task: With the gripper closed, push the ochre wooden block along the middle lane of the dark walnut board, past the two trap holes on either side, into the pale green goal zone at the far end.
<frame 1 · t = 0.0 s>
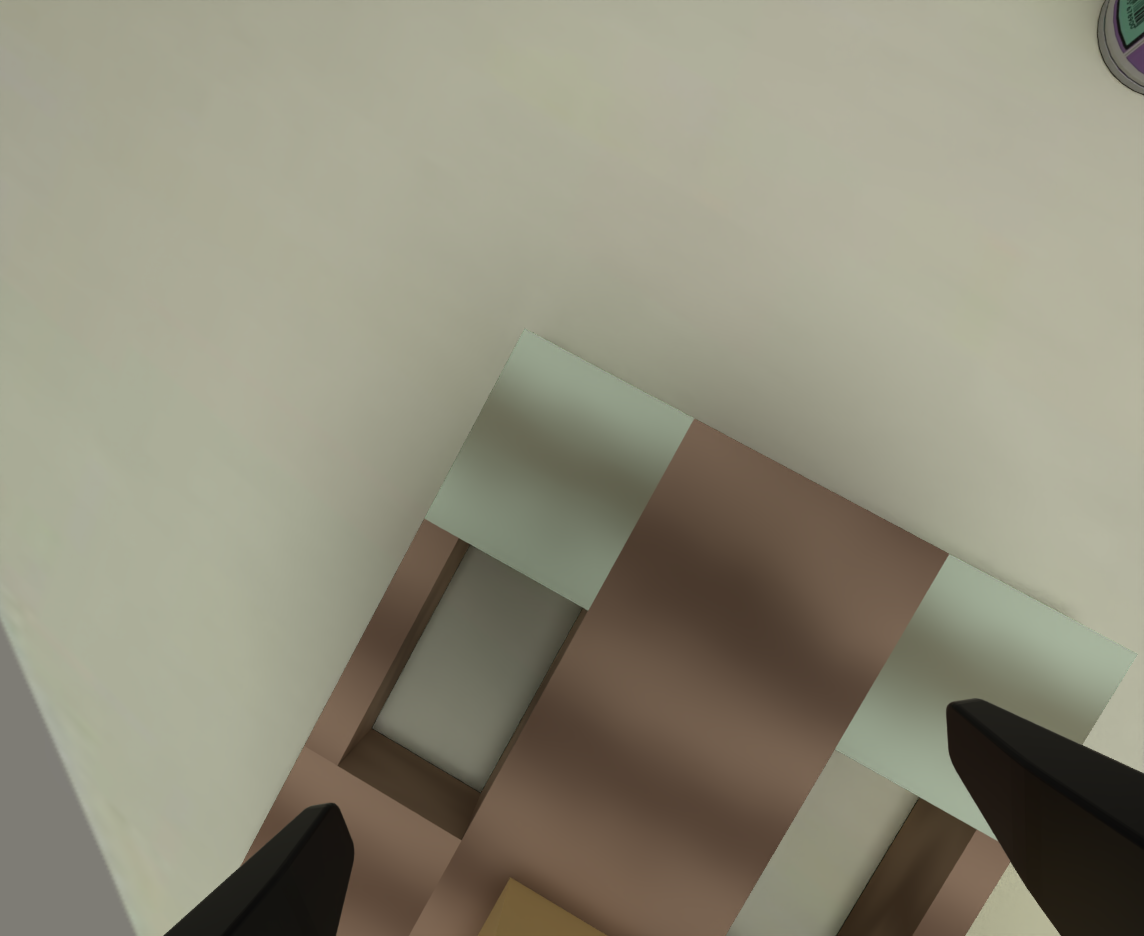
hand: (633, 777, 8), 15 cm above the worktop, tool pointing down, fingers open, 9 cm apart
trap board: (639, 753, 24), on the worktop
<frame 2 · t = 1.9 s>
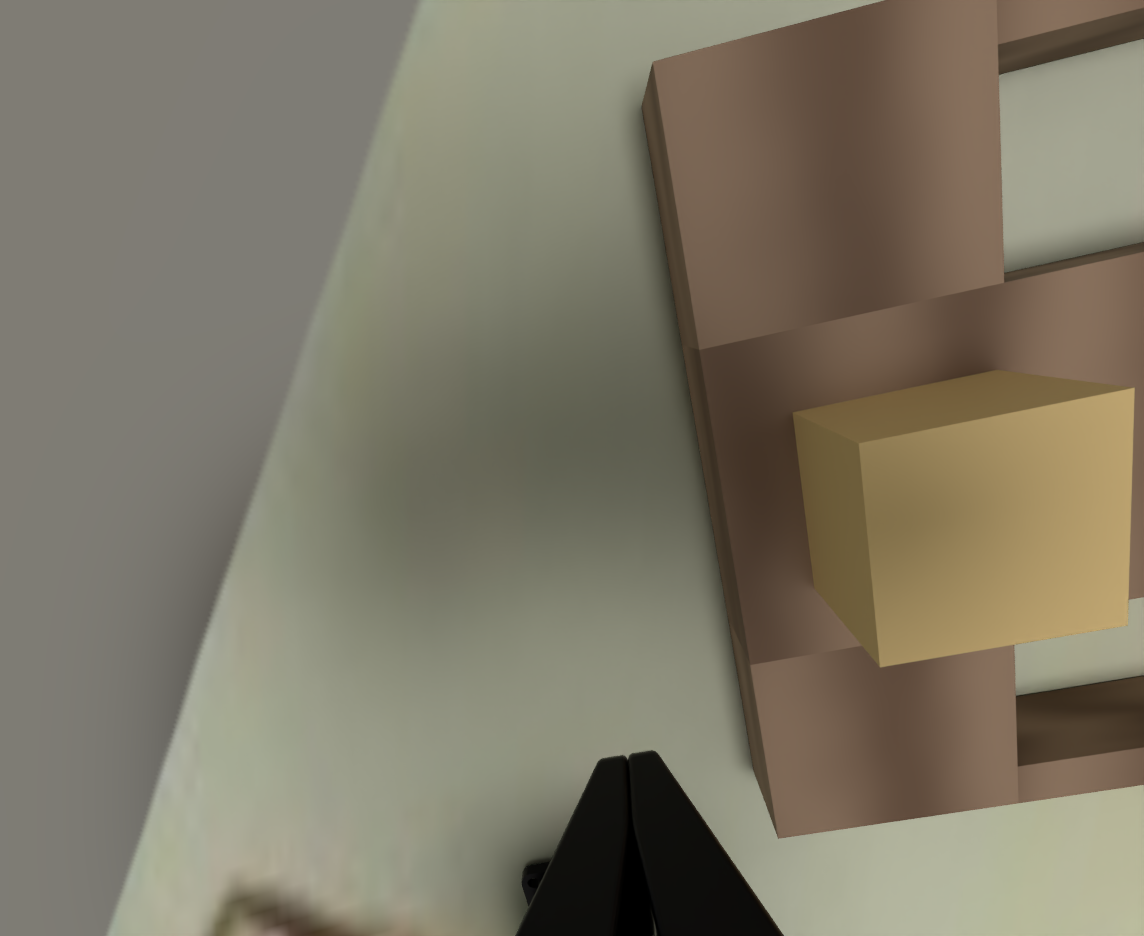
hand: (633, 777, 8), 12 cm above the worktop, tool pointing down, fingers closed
trap board: (1102, 409, 18), on the worktop
ochre block: (900, 485, 16), point 3 cm above the worktop, touching trap board
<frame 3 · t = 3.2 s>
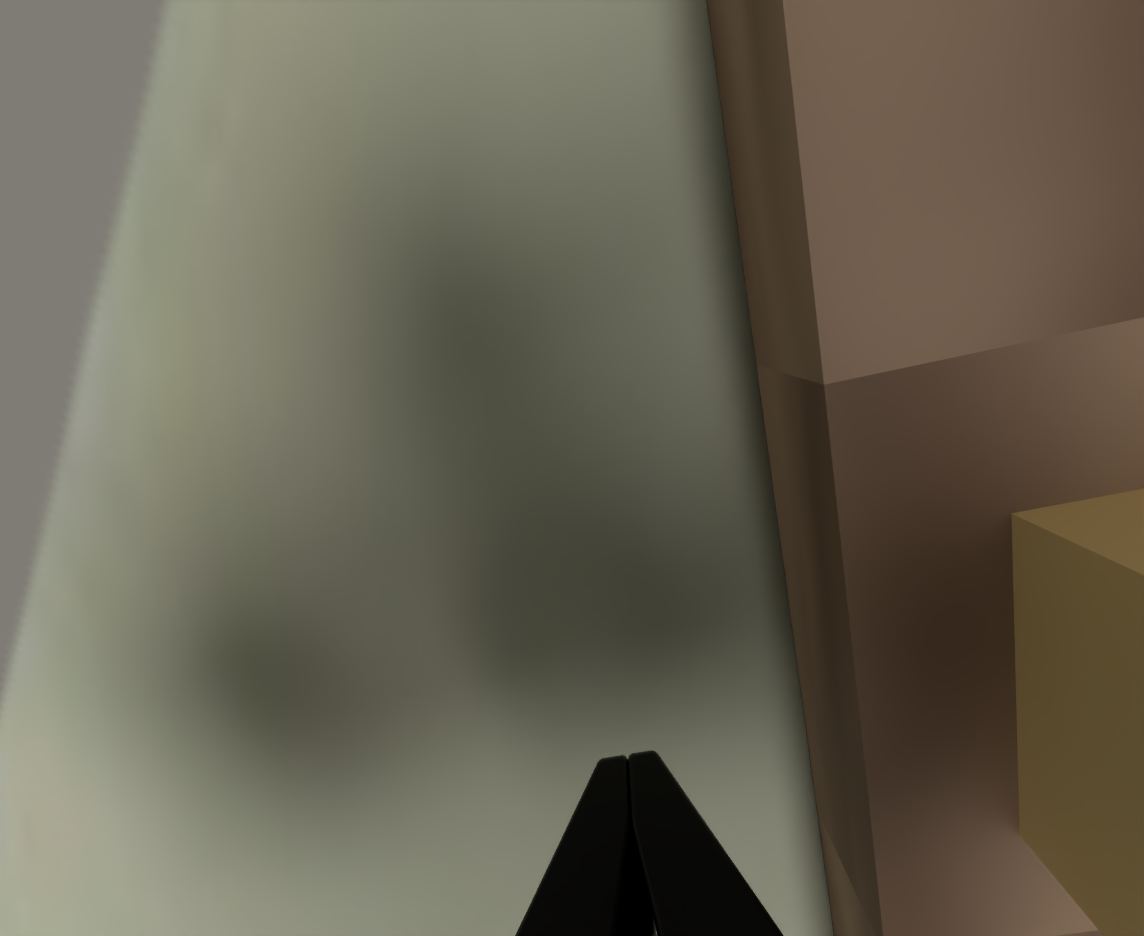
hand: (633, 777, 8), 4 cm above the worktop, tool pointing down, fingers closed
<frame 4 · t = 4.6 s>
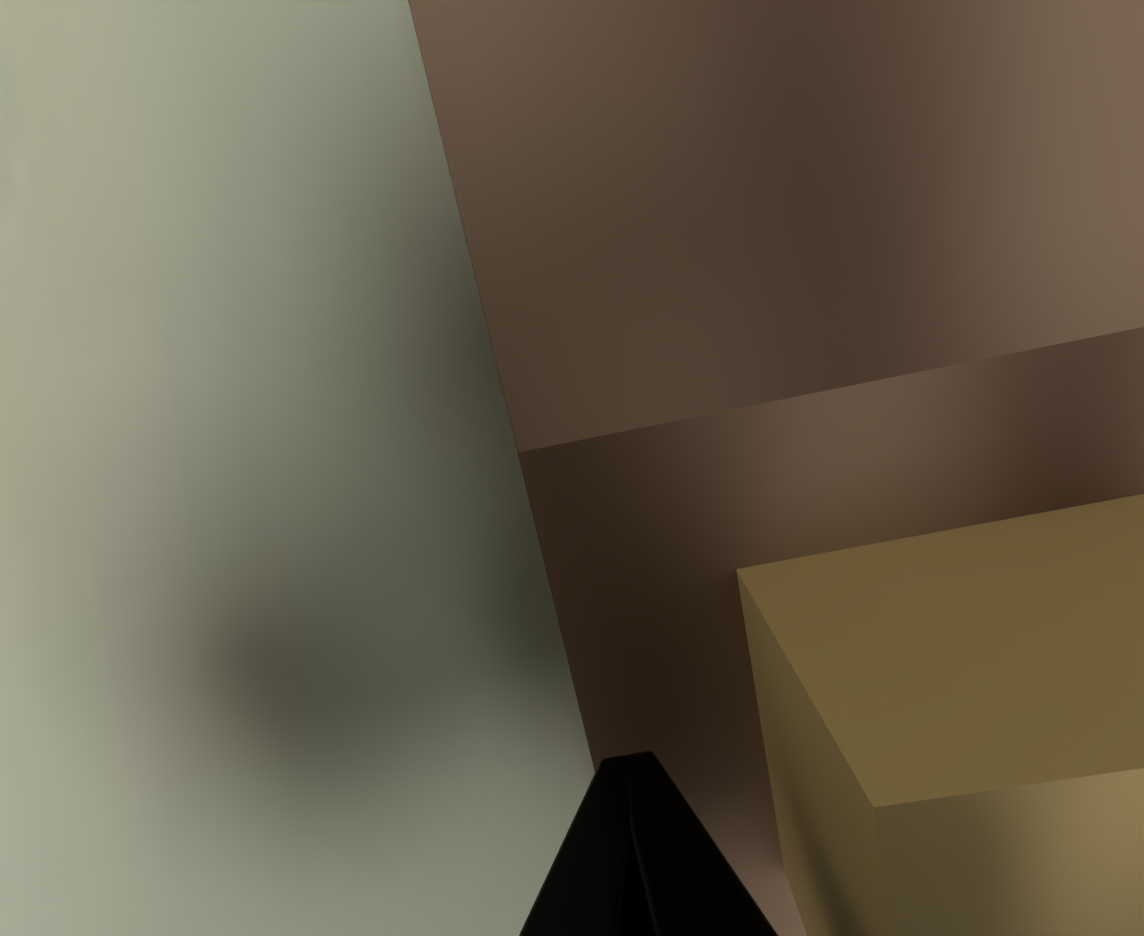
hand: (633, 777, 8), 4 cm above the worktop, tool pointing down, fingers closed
ochre block: (948, 701, 8), point 3 cm above the worktop, touching gripper, trap board
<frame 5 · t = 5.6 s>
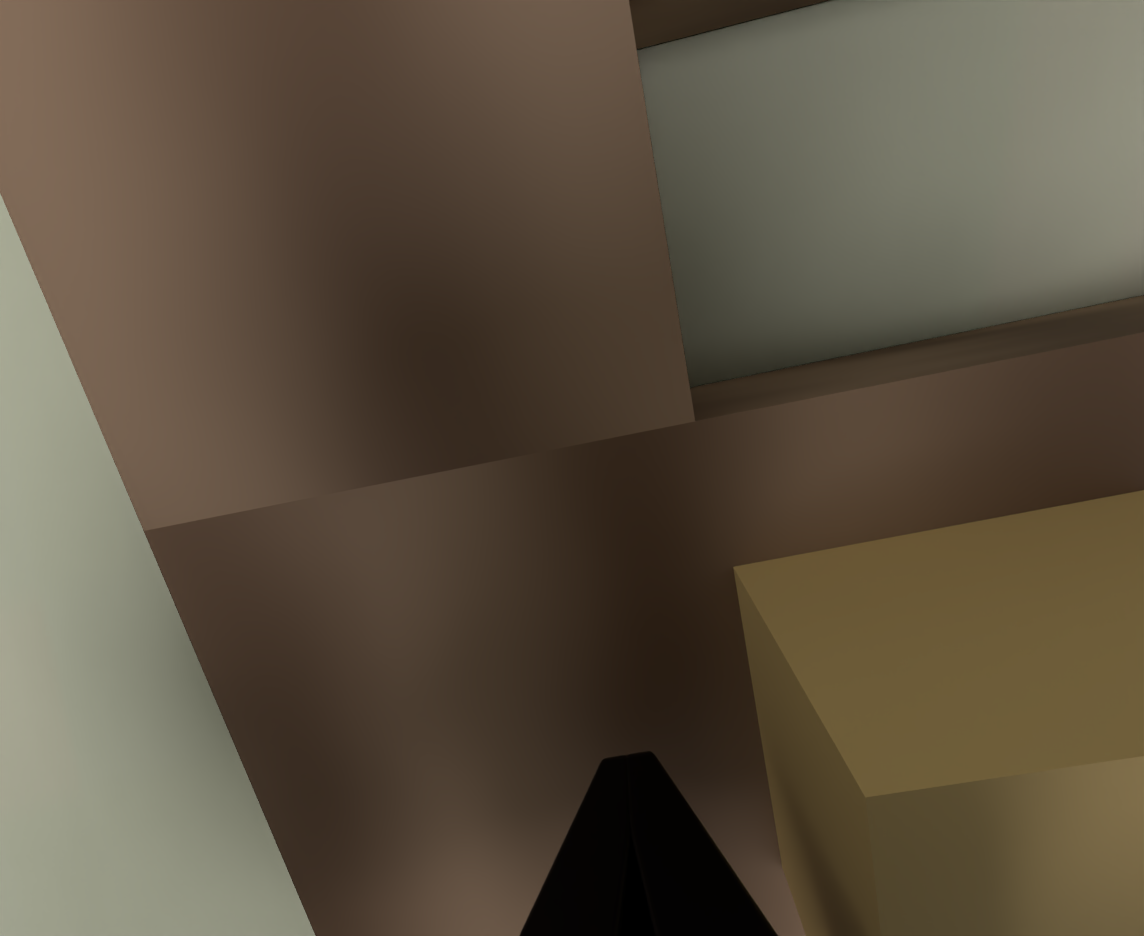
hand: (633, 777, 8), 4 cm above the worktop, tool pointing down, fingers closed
trap board: (957, 588, 11), on the worktop
ochre block: (944, 698, 8), point 3 cm above the worktop, touching gripper
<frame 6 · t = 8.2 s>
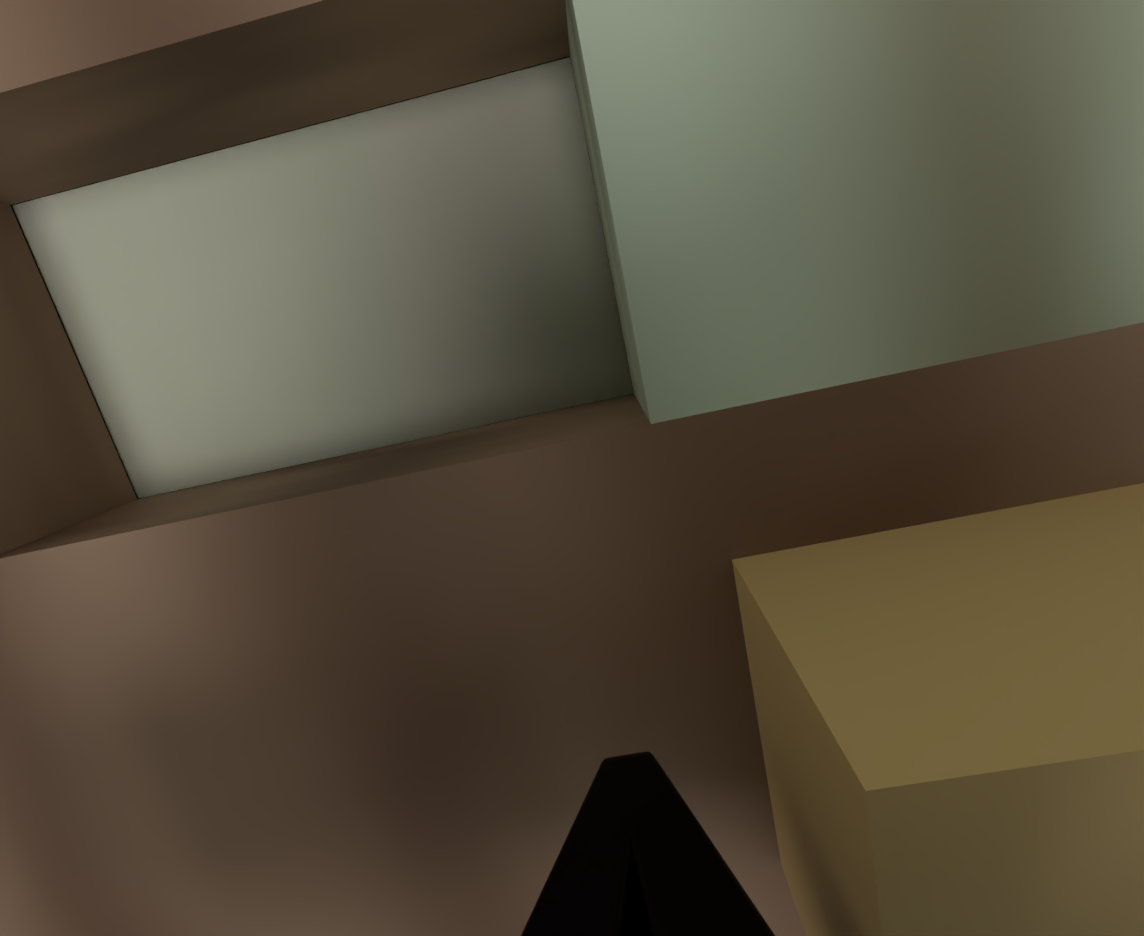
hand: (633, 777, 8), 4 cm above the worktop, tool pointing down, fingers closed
trap board: (445, 672, 12), on the worktop
ochre block: (945, 693, 8), point 3 cm above the worktop, touching gripper, trap board
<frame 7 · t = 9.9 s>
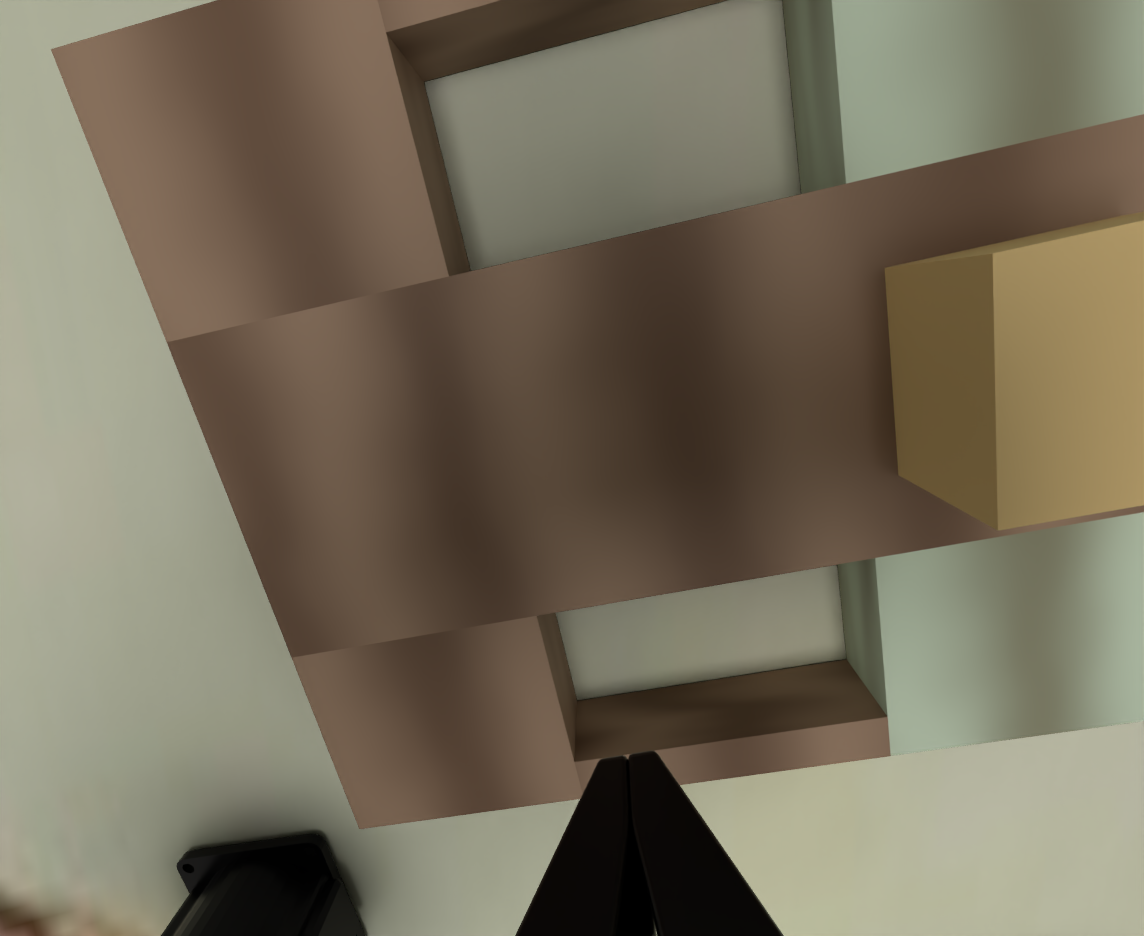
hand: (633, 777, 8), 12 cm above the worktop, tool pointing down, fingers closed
trap board: (661, 406, 18), on the worktop
ochre block: (1002, 354, 15), point 3 cm above the worktop, touching trap board
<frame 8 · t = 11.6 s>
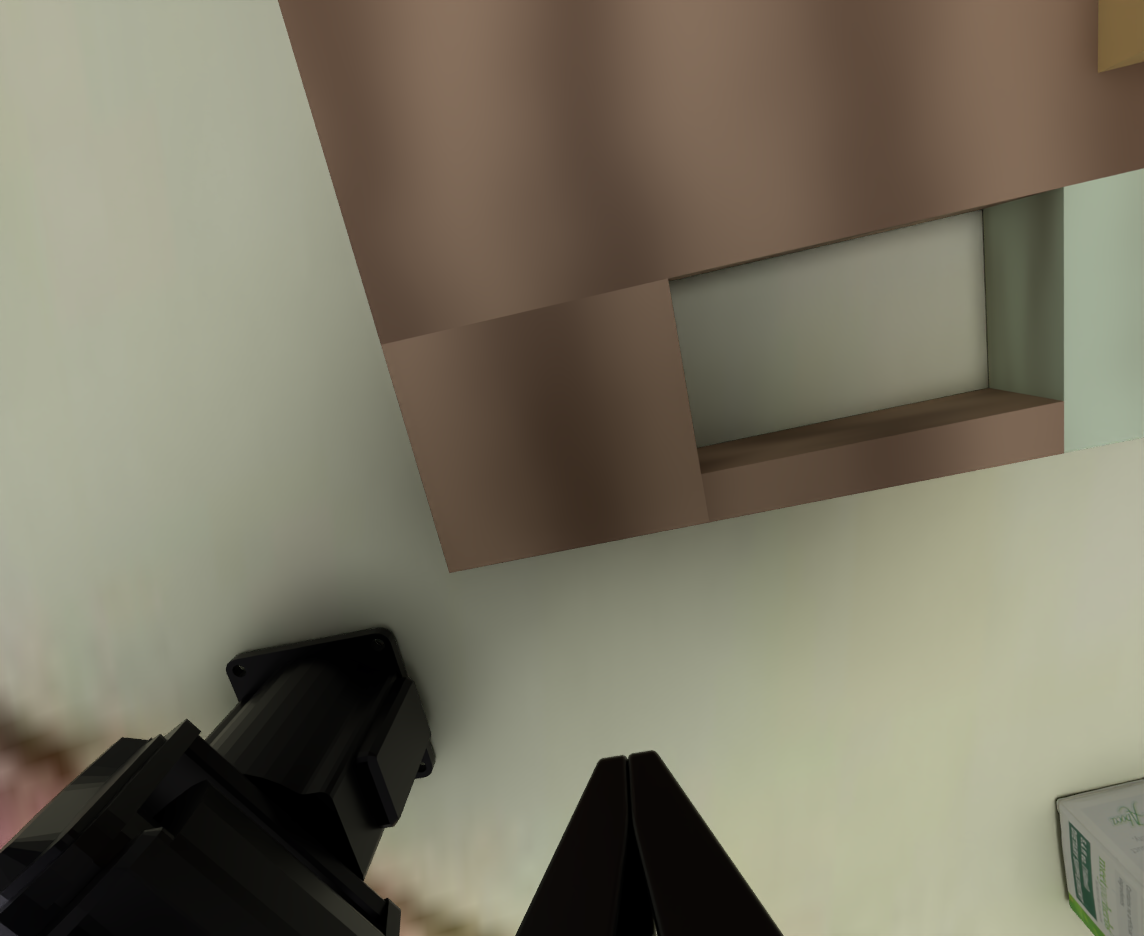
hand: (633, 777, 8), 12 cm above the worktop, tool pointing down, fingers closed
trap board: (796, 66, 16), on the worktop
syrup box: (1128, 830, 23), on the worktop
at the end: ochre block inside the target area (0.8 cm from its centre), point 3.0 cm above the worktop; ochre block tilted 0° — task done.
